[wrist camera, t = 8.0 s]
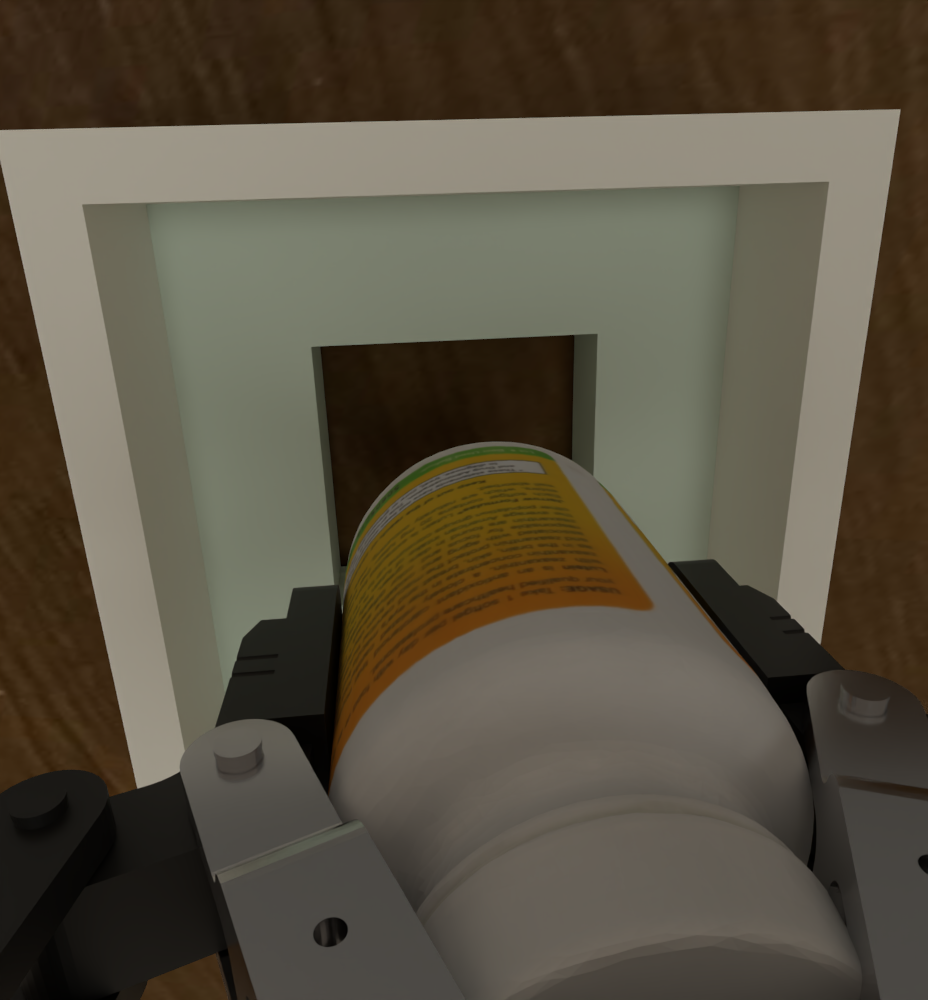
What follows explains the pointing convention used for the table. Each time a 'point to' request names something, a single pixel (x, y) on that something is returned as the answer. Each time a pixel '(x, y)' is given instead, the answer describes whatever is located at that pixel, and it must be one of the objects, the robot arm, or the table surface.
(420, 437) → the table surface
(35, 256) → the bore box
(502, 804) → the supplement bottle
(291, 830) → the robot arm
